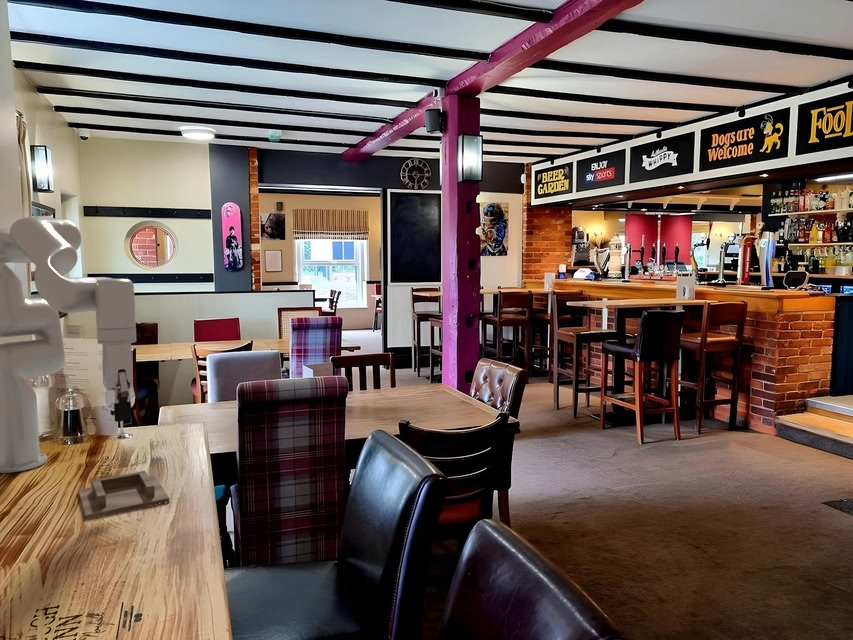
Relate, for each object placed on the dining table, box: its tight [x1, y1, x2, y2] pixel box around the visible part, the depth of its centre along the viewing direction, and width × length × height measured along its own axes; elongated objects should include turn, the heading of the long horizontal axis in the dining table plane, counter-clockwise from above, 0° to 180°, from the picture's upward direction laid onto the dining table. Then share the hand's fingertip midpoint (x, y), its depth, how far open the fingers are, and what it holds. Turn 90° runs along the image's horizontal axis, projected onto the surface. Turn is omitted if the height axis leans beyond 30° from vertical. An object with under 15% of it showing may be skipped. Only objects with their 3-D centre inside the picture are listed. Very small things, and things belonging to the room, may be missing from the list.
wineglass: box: [104, 383, 136, 441], centre depth 131 cm, size 6×6×12 cm
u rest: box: [78, 470, 170, 520], centre depth 133 cm, size 16×16×4 cm
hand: (120, 416), depth 131 cm, fingers closed on wineglass, 5 cm apart
